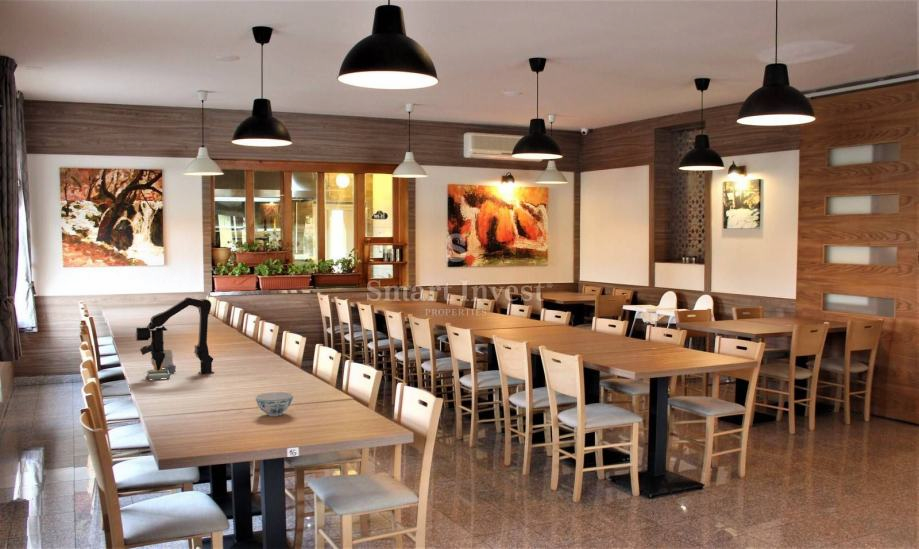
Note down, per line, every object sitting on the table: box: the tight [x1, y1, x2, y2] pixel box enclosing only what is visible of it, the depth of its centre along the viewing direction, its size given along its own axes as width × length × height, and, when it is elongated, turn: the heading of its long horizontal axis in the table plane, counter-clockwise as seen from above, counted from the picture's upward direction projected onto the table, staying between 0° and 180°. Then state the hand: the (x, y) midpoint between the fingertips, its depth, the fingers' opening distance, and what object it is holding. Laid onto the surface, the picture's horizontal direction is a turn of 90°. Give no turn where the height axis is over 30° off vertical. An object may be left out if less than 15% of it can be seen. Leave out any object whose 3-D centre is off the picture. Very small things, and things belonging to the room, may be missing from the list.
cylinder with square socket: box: [164, 364, 177, 374], centre depth 421 cm, size 5×5×4 cm
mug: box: [150, 349, 175, 368], centre depth 435 cm, size 8×12×12 cm, turn 120°
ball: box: [153, 364, 163, 371], centre depth 407 cm, size 4×4×4 cm
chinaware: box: [255, 391, 294, 417], centre depth 320 cm, size 15×15×8 cm
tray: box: [146, 369, 171, 381], centre depth 408 cm, size 15×11×2 cm
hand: (158, 369), depth 407 cm, fingers closed on ball, 4 cm apart
